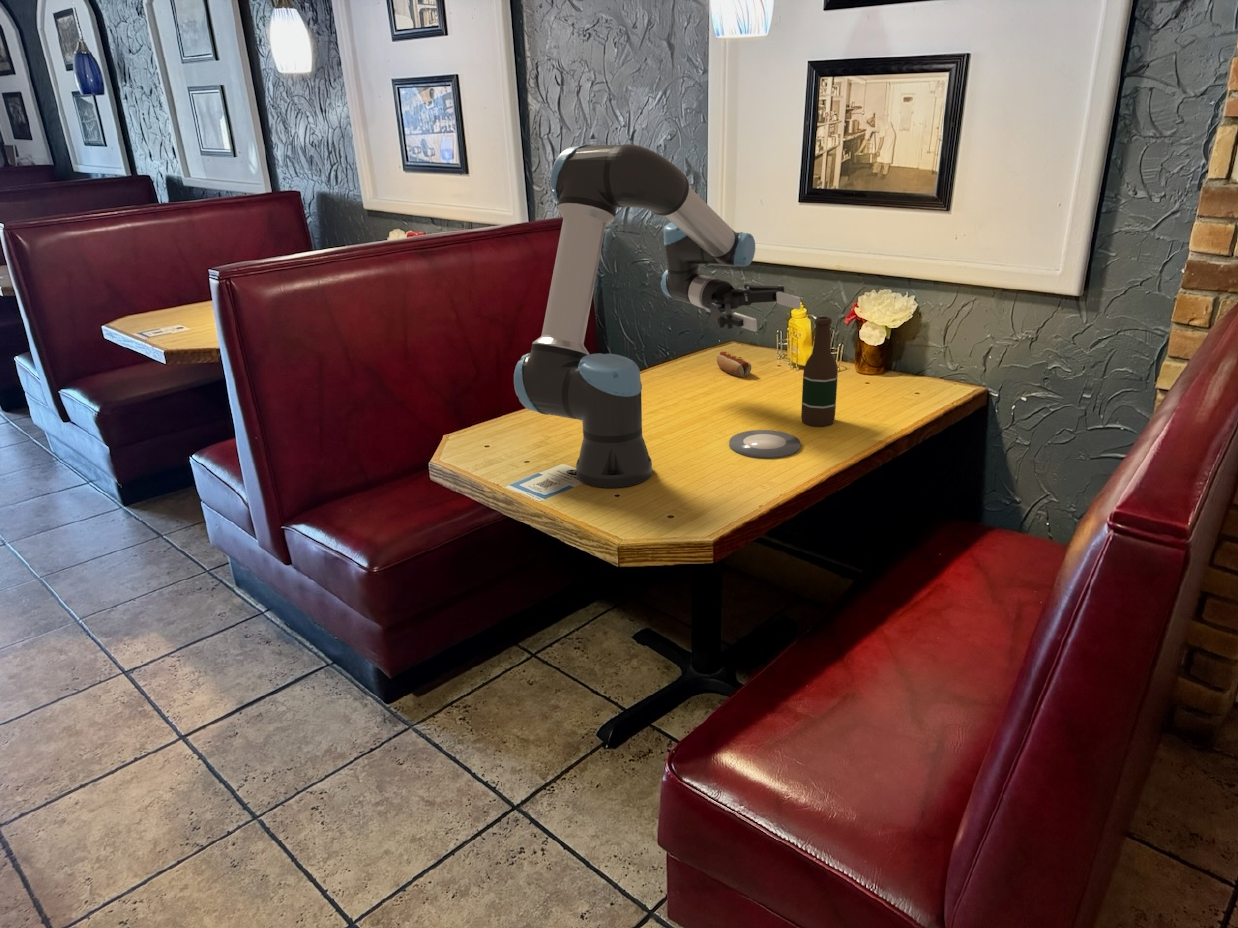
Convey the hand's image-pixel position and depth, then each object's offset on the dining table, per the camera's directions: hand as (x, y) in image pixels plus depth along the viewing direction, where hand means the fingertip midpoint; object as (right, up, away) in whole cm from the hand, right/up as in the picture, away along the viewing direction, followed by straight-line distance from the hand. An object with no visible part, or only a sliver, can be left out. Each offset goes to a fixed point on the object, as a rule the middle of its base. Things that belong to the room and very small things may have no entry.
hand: (777, 314), depth 185 cm
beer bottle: (+11, -23, +8) cm, 27 cm away
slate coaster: (-4, -29, -5) cm, 29 cm away
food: (-3, -8, +49) cm, 49 cm away
